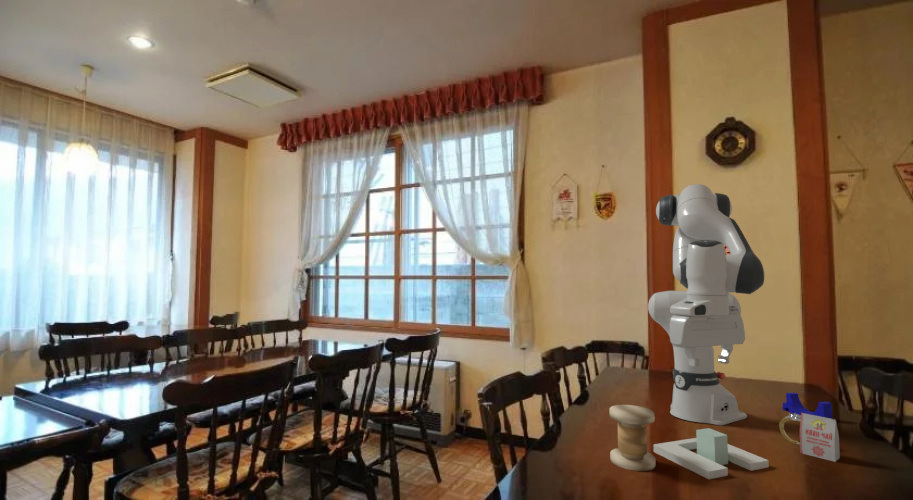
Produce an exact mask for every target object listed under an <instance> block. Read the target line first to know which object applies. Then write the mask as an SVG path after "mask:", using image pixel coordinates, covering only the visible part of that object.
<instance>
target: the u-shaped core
mask: <svg viewBox="0 0 913 500" xmlns="http://www.w3.org/2000/svg"><path fill="white" fill-rule="evenodd" d="M691 450H697V437H693V438H687V439H680V440H675V441H674V440H673V441H667V442H666V441H665V442H660V443H655V444H653V453H654V454H657V455H659V456H661V457H663V458H665V459H667V460H669V461H672V462H674V463H675V464H677V465H679V466H681V467H683V468H685V469H687V470H689V471H691V472H693V473H695V474H697V475H699V476H702V477H703V478H705V479H707V480H713V479H717V478H722V477H727V476H728V475H729V473H728V472H729V471H728V470H729V469H728V467H727V466H724V465H720V464H718V463H716V462H713V461H711V460H709V459H707V458H705V457H703V456H701V455H698V454H697V452H695V451H694V452H693V451H691ZM728 462H730V463H732V464H734V465H736V466H738V467H741V468H743V469H746V470H749V471H750V472H753V471H757V470H762V469H767V468H769V466H770V465H769V459H766V458H764V457H762V456H758V455H757V454H753V453H751V452H749V451H746V450H744V449H742V448H739V447H737V446H734V445H731V444H729V443H728Z"/></svg>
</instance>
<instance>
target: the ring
mask: <svg viewBox="0 0 913 500" xmlns="http://www.w3.org/2000/svg"><path fill="white" fill-rule="evenodd" d="M800 419H801V415H799V414H798V415H797V414H796V413H790V412H788V415H787V416H784V417H783V418H782V419H781V420H780V421H779V424H778V426H779V427H778V428H779V431H780V433H781V435H782V437H783V438H784V439H785V440H786V441H788V442H790V443H793V444H797V445H800V441H799V440H794V439H792V438H791V437H789V435H788V434H787V433H786V431H785V427H784V426H785V423H786V422H789V421H798V422H800Z"/></svg>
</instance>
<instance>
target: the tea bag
mask: <svg viewBox="0 0 913 500" xmlns="http://www.w3.org/2000/svg"><path fill="white" fill-rule="evenodd" d="M799 422H800V423H799V433H798V435H799V442H800V444H799V453H800V454H803V455H807V456H811V457H814V458H819V459H822V460H823V459H824V460H827V461H829V462H830V461H831V462H834V463H836V462H838V460H840V458H841V455H840V435H839V434H840V433H839V430H838V425H837V420H836V419H835V418H834V419H833V418H832V419H830V418H825V417H820V416H815V415H810V414H805V413H801V419H800V421H799Z"/></svg>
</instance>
